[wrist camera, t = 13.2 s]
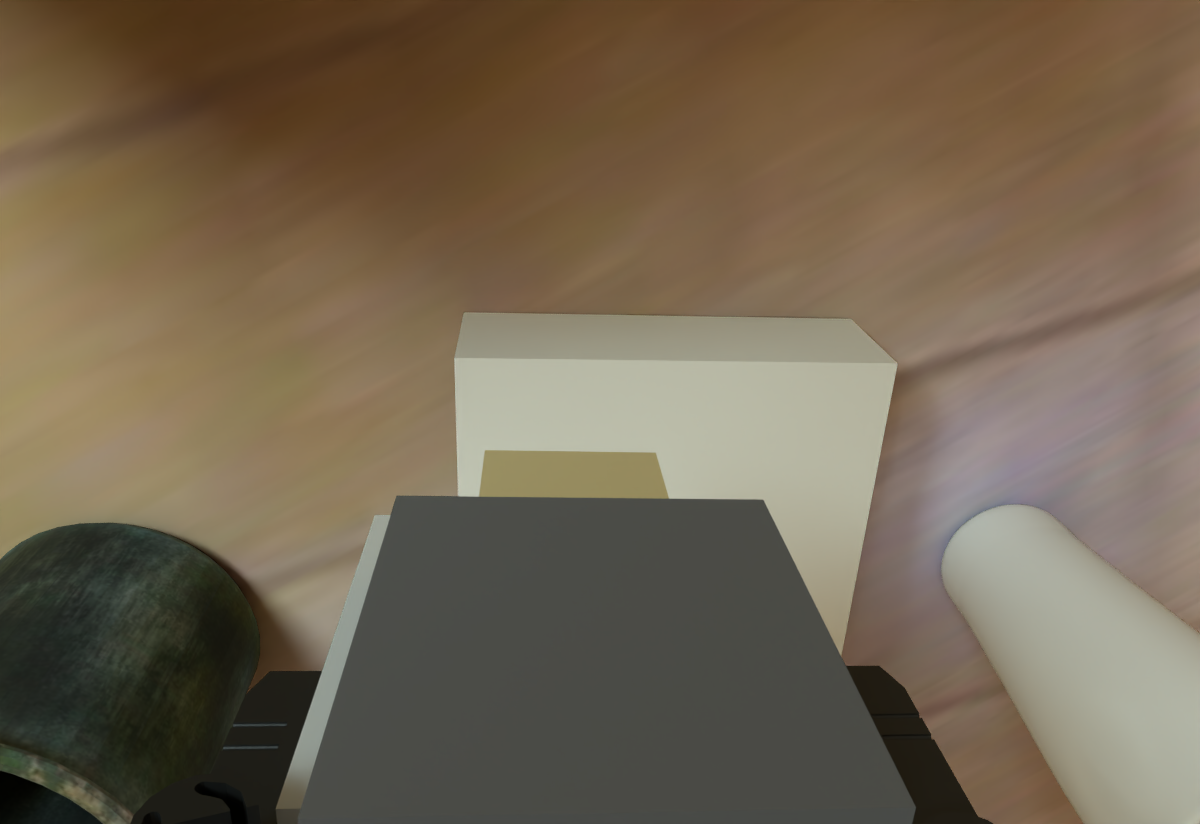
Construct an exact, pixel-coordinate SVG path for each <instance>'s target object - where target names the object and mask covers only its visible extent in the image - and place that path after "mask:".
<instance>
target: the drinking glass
mask: <svg viewBox="0 0 1200 824" xmlns="http://www.w3.org/2000/svg"><path fill="white" fill-rule="evenodd" d="M941 576H942V581H943V585H944V587H945V590H946V592H947V594H948V595H949V597H950V598H951V600H952V601H953V603H954V604H955V606H956V607H957V608H958V610H959V611H960V613H961V614H962V615H963V617H964V618H965V620H966V621H967V623H968V625H969V627H970V628H971V630H972V632H973V633H974V635H975V637H976V639H977V640H978V642H979V644H980V646H981V647H982V649H983V651H984V653H985V654H986V656H987V658H988V660H989V661H990V663H991V665H992V667H993V668H994V670H995V672H996V674H997V675H998V677H999V679H1000V681H1001V683H1002V684H1003V686H1004V688H1005V690H1006V691H1007V693H1008V695H1009V697H1010V699H1011V700H1012V702H1013V704H1014V706H1015V707H1016V709H1017V711H1018V713H1019V715H1020V716H1021V718H1022V720H1023V722H1024V724H1025V725H1026V727H1027V729H1028V731H1029V733H1030V734H1031V736H1032V738H1033V740H1034V742H1035V743H1036V745H1037V747H1038V749H1039V750H1040V752H1041V754H1042V756H1043V758H1044V759H1045V761H1046V763H1047V765H1048V766H1049V768H1050V770H1051V772H1052V773H1053V775H1054V777H1055V779H1056V780H1057V782H1058V784H1059V785H1060V787H1061V789H1062V790H1063V792H1064V794H1065V795H1066V797H1067V799H1068V800H1069V802H1070V803H1071V805H1072V807H1073V808H1074V810H1075V811H1076V813H1077V815H1078V816H1079V818H1080V819H1081V821H1082V822H1083V824H1200V633H1199V632H1198V631H1196V630H1195V629H1194V628H1192V627H1191V626H1190V625H1188V624H1187V623H1186V622H1184V621H1183V620H1182V619H1181V618H1179V617H1178V616H1177V615H1175V614H1174V613H1173V612H1171V611H1170V610H1169V609H1167V608H1166V607H1165V606H1164V605H1162V604H1161V603H1160V602H1158V601H1157V600H1156V599H1154V598H1153V597H1152V596H1151V595H1149V594H1148V593H1147V592H1145V591H1144V590H1143V589H1142V588H1140V587H1139V586H1138V585H1136V584H1135V583H1134V582H1132V581H1131V580H1130V579H1129V578H1127V577H1126V576H1125V575H1123V574H1122V573H1121V572H1120V571H1118V570H1117V569H1116V568H1114V567H1113V566H1112V565H1111V564H1109V563H1108V562H1107V561H1105V560H1104V559H1103V558H1102V557H1100V556H1099V555H1098V554H1097V553H1095V552H1094V551H1093V550H1092V549H1090V548H1089V547H1088V546H1086V545H1085V544H1084V543H1083V542H1081V541H1080V540H1079V539H1078V538H1077V537H1076V536H1075V535H1074V534H1073V533H1072V532H1071V531H1070V530H1068V529H1067V528H1066V527H1065V526H1064V525H1063V524H1062V523H1061V522H1060V521H1059V520H1058V519H1056V518H1055V517H1054V516H1053V515H1051V514H1050V513H1048V512H1046V511H1044V510H1042V509H1039V508H1037V507H1033V506H1029V505H1022V504H1009V505H1002V506H998V507H994V508H991V509H988V510H986V511H984V512H981V513H979V514H978V515H976V516H974V517H973V518H971V519H970V520H968V521H967V522H966V523H965V524H963V525H962V526H961V527H960V528H959V529H958V530H957V531H956V533H955V534H954V535H953V536H952V538H951V539H950V541H949V543H948V545H947V546H946V549H945V551H944V554H943V558H942V563H941Z"/></svg>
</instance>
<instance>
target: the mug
mask: <svg viewBox="0 0 1200 824" xmlns="http://www.w3.org/2000/svg"><path fill="white" fill-rule="evenodd" d="M259 655H260V636H259V631H258V627H257V622H256V619H255V617H254V614H253V612H252V610H251V607H250V605H249V603H248V601H247V600H246V598H245V597H244V595H243V593H242V592H241V590H240V589H239V587H238V586H237V584H236V583H235V582H234V581H233V579H232V578H231V577H230V576H229V575H228V574H227V573H226V572H225V570H224V569H223V568H221V567H220V566H219V565H218V564H217V563H216V562H214V561H213V560H212V559H211V558H210V557H208V556H207V555H205V554H204V553H202V552H201V551H199V550H198V549H196V548H194V547H193V546H191V545H189V544H187V543H185V542H183V541H181V540H179V539H177V538H175V537H173V536H170V535H167V534H164V533H161V532H158V531H155V530H153V529H148V528H144V527H139V526H135V525H128V524H118V523H85V524H75V525H69V526H63V527H57V528H54V529H51V530H48V531H45V532H42V533H38V534H37V535H35V536H33V537H31V538H29V539H27V540H25V541H23V542H21V543H20V544H18V545H17V546H16V547H14V548H13V549H12V550H10V551H9V552H8V553H6V554H5V555H4V556H3V558H2V559H1V560H0V824H130V823H131V820H132V818H133V815H134V814H135V813H136V812H137V811H138V810H139V809H140V808H141V807H142V805H143V804H144V803H145V802H146V801H147V800H148V799H149V798H150V797H151V796H153V795H154V794H156V793H158V792H159V791H161V790H162V789H164V788H165V787H167V786H169V785H170V784H172V783H174V782H177V781H180V780H183V779H186V778H189V777H192V776H195V775H203V774H211V772H212V769H213V767H214V765H215V763H216V760H217V758H218V756H219V753H220V751H223V744H224V742H225V740H226V738H227V735H228V733H229V731H230V729H231V728H233V722H234V720H235V717H236V715H237V713H238V711H239V708H240V706H241V704H242V702H243V699H244V697H245V695H246V693H247V691H248V688H249V686H250V683H251V681H252V678H253V676H254V674H255V671H256V669H257V665H258V660H259Z"/></svg>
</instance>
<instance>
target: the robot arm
mask: <svg viewBox="0 0 1200 824" xmlns="http://www.w3.org/2000/svg"><path fill="white" fill-rule="evenodd" d="M390 516H391V515H375V516H374V519H373V522H372V525H371V528H370V531H369V534H368V537H367V540H366V543H365V546H364V549H363V552H362V555H361V558H360V561H359V564H358V567H357V570H356V572H355V575H354V578H353V581H352V584H351V587H350V590H349V593H348V596H347V599H346V602H345V605H344V608H343V611H342V614H341V617H340V620H339V623H338V626H337V629H336V632H335V635H334V638H333V641H332V644H331V646H330V649H329V652H328V655H327V658H326V661H325V664H324V667H323V670H322V671H270V672H269V673H268V674H267V675H266V676H265V677H264V678H263V679H262V680H261V681H260V682H259V683H258V684H257V685H255V686H254V687H253V688H252V689H251V690H250V691H249V692H248V693H247V694H246V695H245V697H244V699H243V702H242V704H241V706H240V708H239V711H238V713H237V715H236V717H235V720H234V722H233V728H231V729H230V731H229V733H228V735H227V738H226V740H225V742H224V744H223V751H220V753H219V756H218V758H217V760H216V763H215V765H214V767H213V769H212V772H211V774H203V775H195V776H192V777H189V778H186V779H183V780H180V781H177V782H174V783H172V784H170V785H169V786H167V787H165V788H164V789H162V790H161V791H159V792H158V793H156V794H154V795H153V796H151V797H150V798H149V799H148V800H147V801H146V802H145V803H144V804H143V805H142V807H141V808H140V809H139V810H138V811H137V812H136V813H135V814H134V815H133V818H132V820H131V823H130V824H298V816H299V813H300V809H301V806H302V803H303V800H304V796H305V793H306V790H307V787H308V783H309V780H310V777H311V773H312V770H313V767H314V764H315V760H316V757H317V754H318V751H319V747H320V744H321V741H322V738H323V734H324V731H325V728H326V725H327V721H328V718H329V715H330V711H331V708H332V705H333V702H334V698H335V695H336V692H337V689H338V685H339V682H340V679H341V676H342V672H343V669H344V666H345V663H346V659H347V656H348V653H349V649H350V646H351V643H352V640H353V636H354V633H355V630H356V627H357V623H358V620H359V617H360V614H361V610H362V607H363V604H364V601H365V597H366V594H367V591H368V587H369V584H370V581H371V578H372V574H373V571H374V568H375V565H376V561H377V558H378V555H379V552H380V548H381V545H382V542H383V539H384V535H385V532H386V529H387V525H388V522H389V519H390ZM846 667H847V669H848V671H849V673H850V675H851V677H852V680H853V682H854V684H855V686H856V688H857V690H858V692H859V694H860V696H861V698H862V700H863V702H864V704H865V706H866V708H867V710H868V712H869V714H870V716H871V718H872V720H873V722H874V724H875V726H876V728H877V730H878V732H879V734H880V736H881V738H882V740H883V742H884V744H885V746H886V748H887V750H888V752H889V754H890V756H891V758H892V760H893V762H894V764H895V766H896V768H897V770H898V772H899V774H900V776H901V778H902V780H903V782H904V784H905V786H906V788H907V790H908V792H909V794H910V796H911V798H912V800H913V802H914V804H915V806H916V809H915V814H914V818H913V822H912V824H993V823H991V822H990V821H988V820H985V819H982V818H979V817H978V816H977V814H976V812H975V811H974V809H973V807H972V805H971V804H970V802H969V800H968V798H967V797H966V795H965V793H964V791H963V790H962V788H961V786H960V784H959V783H958V781H957V779H956V777H955V776H954V774H953V772H952V770H951V768H950V767H949V765H948V763H947V761H946V760H945V758H944V756H943V754H942V753H941V751H940V749H939V747H938V746H937V744H936V742H935V740H934V739H933V740H932V739H931V733H930V732H929V730H928V728H927V726H926V725H925V723H924V721H923V719H922V718H919V712H918V711H917V709H916V707H915V705H914V704H913V702H912V700H911V698H910V697H909V695H908V693H907V691H906V690H905V688H904V687H903V686H902V685H901V684H899V683H898V682H897V681H896V680H895V679H894V678H893V677H891V676H890V675H889V674H888V673H887V672H886V671H884V670H883V669H882V668H881V667H880V666H846Z"/></svg>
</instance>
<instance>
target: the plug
mask: <svg viewBox="0 0 1200 824" xmlns="http://www.w3.org/2000/svg"><path fill="white" fill-rule="evenodd" d="M915 809H916V806H915V804H914V802H913V800H912V798H911V796H910V794H909V792H908V790H907V788H906V786H905V784H904V782H903V780H902V778H901V776H900V774H899V772H898V770H897V768H896V766H895V764H894V762H893V760H892V758H891V756H890V754H889V752H888V750H887V748H886V746H885V744H884V742H883V740H882V738H881V736H880V734H879V732H878V730H877V728H876V726H875V724H874V722H873V720H872V718H871V716H870V714H869V712H868V710H867V708H866V706H865V704H864V702H863V700H862V698H861V696H860V694H859V692H858V690H857V688H856V686H855V684H854V682H853V680H852V677H851V675H850V673H849V671H848V669H847V667H846V665H845V663H844V661H843V659H842V657H841V655H840V653H839V651H838V649H837V647H836V645H835V643H834V641H833V639H832V637H831V635H830V633H829V631H828V629H827V627H826V625H825V623H824V621H823V619H822V617H821V615H820V613H819V611H818V609H817V607H816V605H815V603H814V601H813V599H812V597H811V595H810V593H809V591H808V589H807V587H806V585H805V583H804V581H803V579H802V577H801V575H800V573H799V571H798V569H797V567H796V565H795V563H794V561H793V559H792V557H791V555H790V553H789V551H788V548H787V546H786V544H785V542H784V540H783V538H782V536H781V534H780V532H779V530H778V528H777V526H776V524H775V522H774V520H773V518H772V516H771V514H770V512H769V510H768V508H767V506H766V504H765V502H764V500H757V499H669V497H668V493H667V490H666V486H665V483H664V479H663V476H662V472H661V469H660V466H659V462H658V459H657V455H656V453H650V452H581V451H512V450H485V452H484V460H483V468H482V476H481V484H480V492H479V497H468V496H396V499H395V503H394V506H393V509H392V512H391V516H390V519H389V522H388V525H387V529H386V532H385V535H384V539H383V542H382V545H381V548H380V552H379V555H378V558H377V561H376V565H375V568H374V571H373V574H372V578H371V581H370V584H369V587H368V591H367V594H366V597H365V601H364V604H363V607H362V610H361V614H360V617H359V620H358V623H357V627H356V630H355V633H354V636H353V640H352V643H351V646H350V649H349V653H348V656H347V659H346V663H345V666H344V669H343V672H342V676H341V679H340V682H339V685H338V689H337V692H336V695H335V698H334V702H333V705H332V708H331V711H330V715H329V718H328V721H327V725H326V728H325V731H324V734H323V738H322V741H321V744H320V747H319V751H318V754H317V757H316V760H315V764H314V767H313V770H312V773H311V777H310V780H309V783H308V787H307V790H306V793H305V796H304V800H303V803H302V806H301V809H300V813H299V816H298V824H912V822H913V818H914V814H915Z"/></svg>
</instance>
